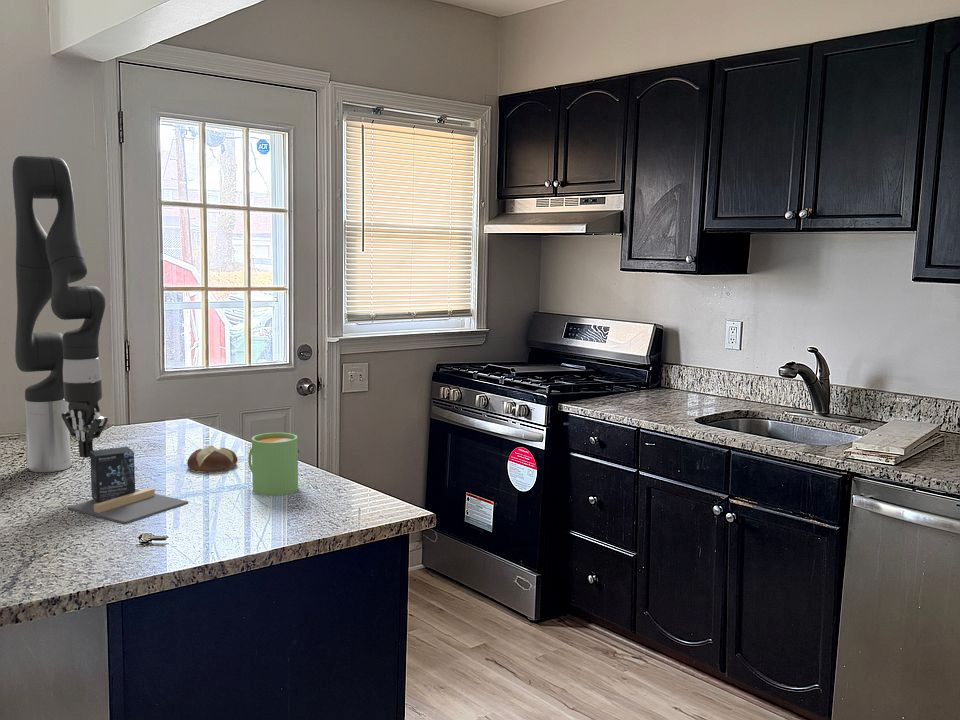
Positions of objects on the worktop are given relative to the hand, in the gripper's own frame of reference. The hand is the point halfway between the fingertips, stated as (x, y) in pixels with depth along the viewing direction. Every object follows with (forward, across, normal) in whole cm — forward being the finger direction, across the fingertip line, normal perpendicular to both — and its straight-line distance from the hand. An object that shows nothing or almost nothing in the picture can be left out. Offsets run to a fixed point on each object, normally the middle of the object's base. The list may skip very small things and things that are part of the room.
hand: (86, 456), depth 189 cm
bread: (+9, +5, +31) cm, 33 cm away
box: (+8, +8, 0) cm, 12 cm away
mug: (+9, +30, +25) cm, 40 cm away
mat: (+9, +14, -1) cm, 17 cm away
